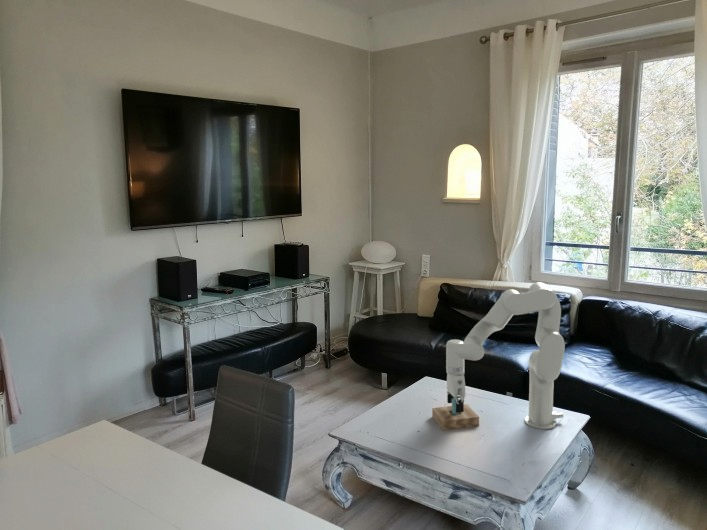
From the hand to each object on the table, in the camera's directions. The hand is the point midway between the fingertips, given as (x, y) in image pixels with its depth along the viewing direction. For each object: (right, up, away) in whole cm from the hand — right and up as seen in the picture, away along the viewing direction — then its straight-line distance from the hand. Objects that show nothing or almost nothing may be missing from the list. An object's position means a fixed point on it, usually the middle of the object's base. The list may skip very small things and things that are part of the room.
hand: (455, 407), depth 230 cm
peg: (0, -6, +1) cm, 6 cm away
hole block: (0, -6, +1) cm, 6 cm away
